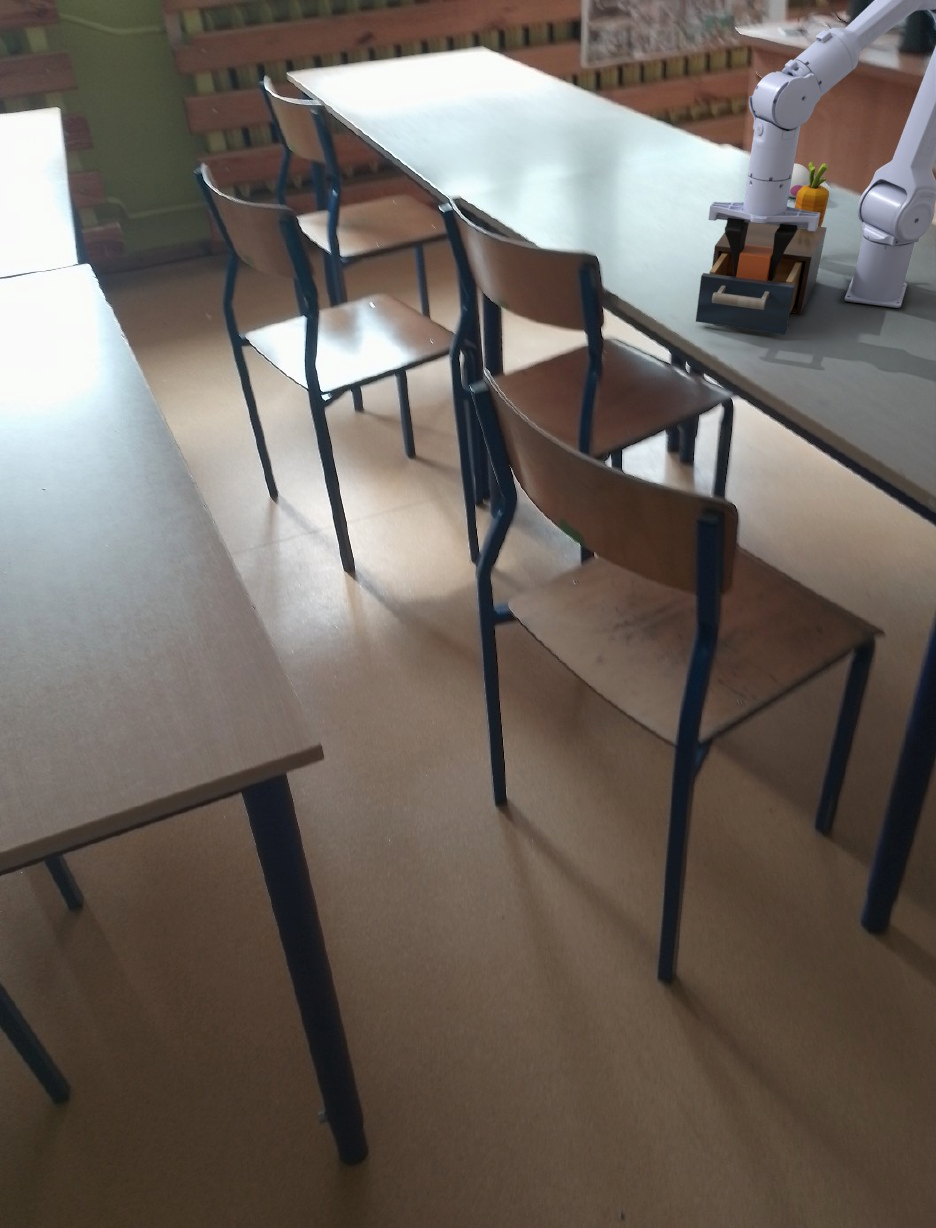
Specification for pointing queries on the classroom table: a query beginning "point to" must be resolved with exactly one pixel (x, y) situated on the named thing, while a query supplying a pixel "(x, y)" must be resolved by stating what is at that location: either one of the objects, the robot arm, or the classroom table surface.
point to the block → (755, 262)
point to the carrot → (814, 193)
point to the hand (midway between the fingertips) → (753, 276)
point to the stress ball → (798, 179)
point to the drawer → (748, 297)
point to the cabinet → (787, 253)
